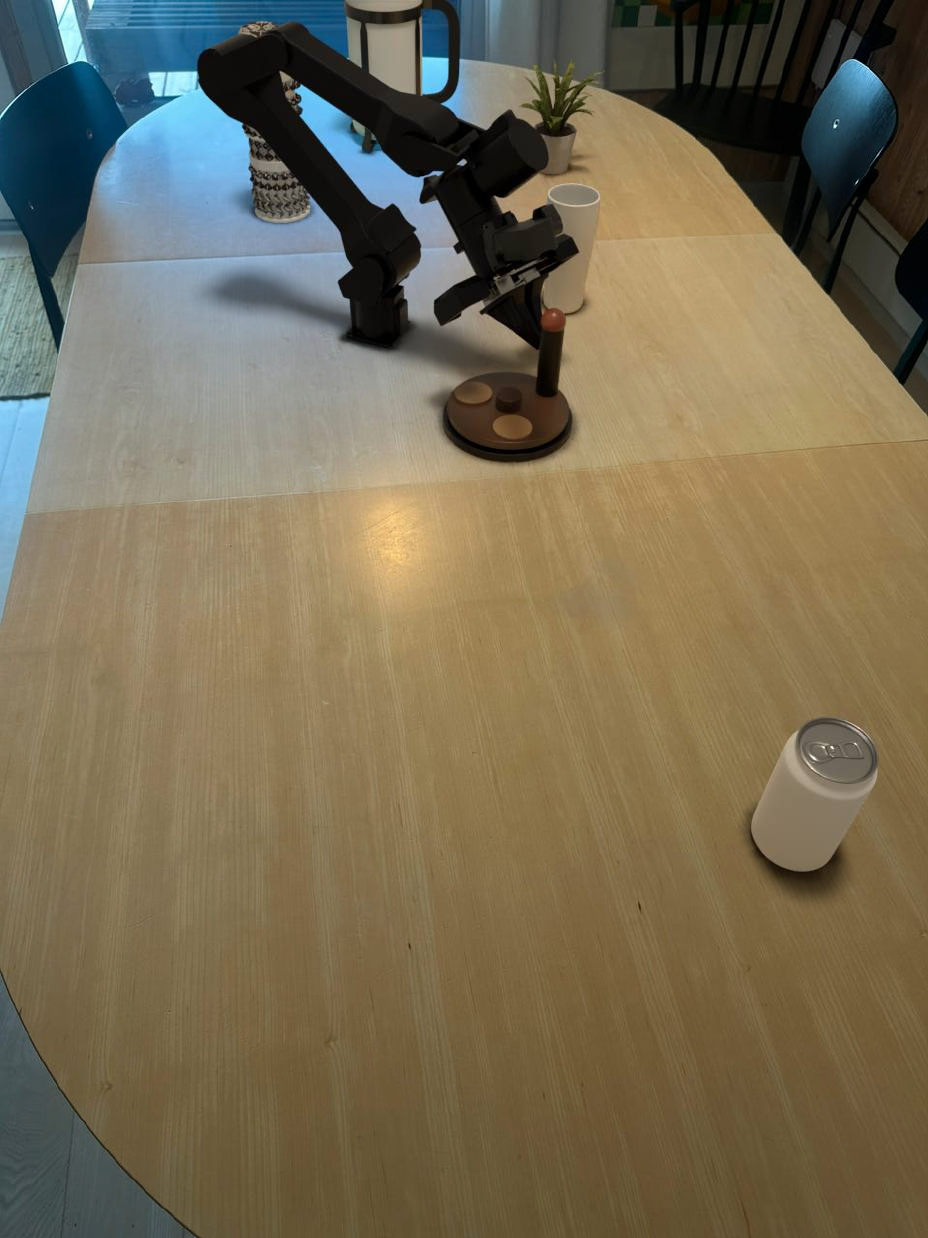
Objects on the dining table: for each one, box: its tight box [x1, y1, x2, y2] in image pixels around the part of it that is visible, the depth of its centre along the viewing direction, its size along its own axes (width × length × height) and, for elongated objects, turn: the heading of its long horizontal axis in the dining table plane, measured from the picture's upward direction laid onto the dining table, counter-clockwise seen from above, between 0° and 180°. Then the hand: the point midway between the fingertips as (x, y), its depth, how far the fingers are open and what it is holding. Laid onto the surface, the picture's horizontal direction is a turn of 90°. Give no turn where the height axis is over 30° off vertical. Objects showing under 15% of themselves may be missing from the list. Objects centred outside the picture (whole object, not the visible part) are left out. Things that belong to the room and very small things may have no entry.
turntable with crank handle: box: [447, 308, 570, 450], centre depth 108 cm, size 14×14×11 cm
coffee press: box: [343, 0, 461, 154], centre depth 158 cm, size 17×16×30 cm
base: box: [442, 400, 574, 463], centre depth 112 cm, size 15×15×1 cm
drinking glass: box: [542, 182, 601, 314], centre depth 126 cm, size 7×7×15 cm
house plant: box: [517, 58, 605, 176], centre depth 154 cm, size 14×14×16 cm
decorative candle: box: [237, 21, 311, 224], centre depth 139 cm, size 9×9×25 cm
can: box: [750, 716, 880, 872], centre depth 72 cm, size 6×6×12 cm
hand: (542, 347), depth 110 cm, fingers closed, pressing on turntable with crank handle
